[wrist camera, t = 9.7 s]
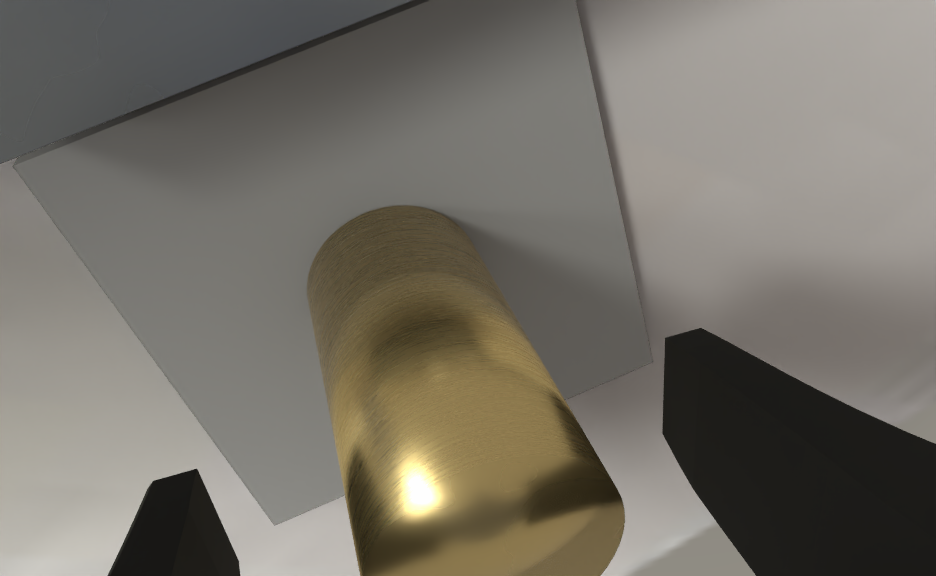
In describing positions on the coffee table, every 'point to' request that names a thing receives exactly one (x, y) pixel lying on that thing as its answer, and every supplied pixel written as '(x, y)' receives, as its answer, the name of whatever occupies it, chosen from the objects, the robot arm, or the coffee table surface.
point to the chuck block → (137, 54)
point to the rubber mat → (350, 212)
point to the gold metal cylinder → (449, 412)
